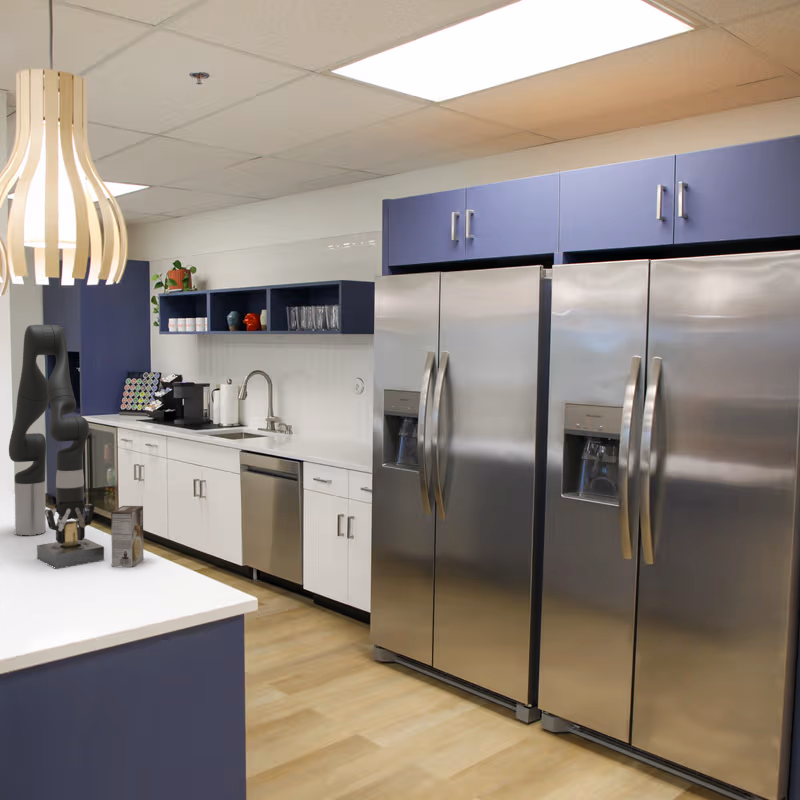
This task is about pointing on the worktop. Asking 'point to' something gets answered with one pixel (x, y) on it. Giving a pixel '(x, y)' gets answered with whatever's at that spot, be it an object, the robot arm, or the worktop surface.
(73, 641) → the worktop surface
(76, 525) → the bushing
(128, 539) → the coffee box
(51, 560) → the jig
